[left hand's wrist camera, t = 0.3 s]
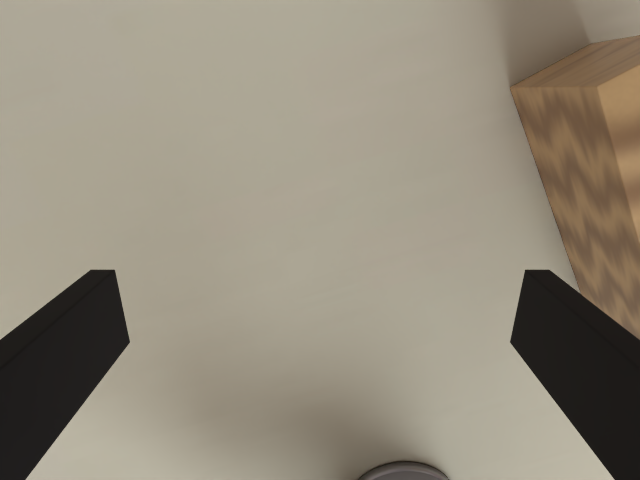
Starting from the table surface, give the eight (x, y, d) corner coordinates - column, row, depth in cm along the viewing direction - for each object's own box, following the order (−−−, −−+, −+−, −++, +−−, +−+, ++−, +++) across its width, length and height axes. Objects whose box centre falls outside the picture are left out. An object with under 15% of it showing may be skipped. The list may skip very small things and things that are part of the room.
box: (658, 293, 44) (776, 365, 33) (590, 321, 45) (681, 399, 34) (591, 43, 35) (724, 20, 23) (509, 87, 36) (596, 86, 25)
